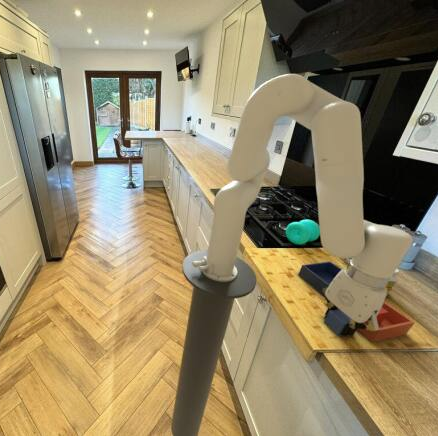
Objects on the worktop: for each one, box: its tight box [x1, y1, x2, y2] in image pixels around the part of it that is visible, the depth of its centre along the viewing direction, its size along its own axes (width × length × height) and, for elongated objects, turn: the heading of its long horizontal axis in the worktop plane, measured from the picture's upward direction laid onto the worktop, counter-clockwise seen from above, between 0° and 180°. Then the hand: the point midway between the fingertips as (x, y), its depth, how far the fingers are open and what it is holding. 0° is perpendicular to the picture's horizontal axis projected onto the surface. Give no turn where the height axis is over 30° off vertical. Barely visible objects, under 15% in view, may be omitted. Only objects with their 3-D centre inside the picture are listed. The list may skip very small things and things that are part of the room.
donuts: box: [285, 219, 320, 246], centre depth 104 cm, size 10×10×10 cm
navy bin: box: [298, 260, 343, 299], centre depth 80 cm, size 12×12×4 cm
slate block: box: [323, 309, 351, 336], centre depth 64 cm, size 4×4×4 cm
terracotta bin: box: [356, 301, 416, 343], centre depth 67 cm, size 12×12×4 cm
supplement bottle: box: [385, 268, 400, 297], centre depth 76 cm, size 5×5×10 cm
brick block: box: [376, 307, 388, 324], centre depth 66 cm, size 4×4×4 cm
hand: (337, 326), depth 65 cm, fingers closed on slate block, 4 cm apart
